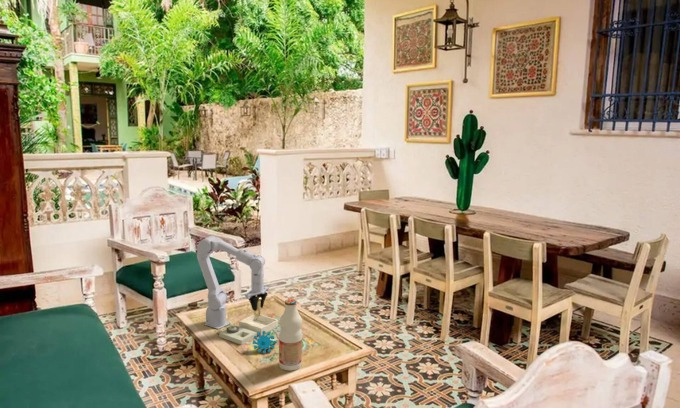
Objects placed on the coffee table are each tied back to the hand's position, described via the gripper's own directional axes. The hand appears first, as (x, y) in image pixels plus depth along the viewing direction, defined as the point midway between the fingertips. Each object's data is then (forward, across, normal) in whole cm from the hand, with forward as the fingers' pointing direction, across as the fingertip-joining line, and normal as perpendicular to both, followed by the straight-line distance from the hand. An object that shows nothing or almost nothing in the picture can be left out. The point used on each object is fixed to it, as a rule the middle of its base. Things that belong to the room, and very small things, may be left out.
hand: (257, 308), depth 224 cm
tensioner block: (+10, -12, +1) cm, 16 cm away
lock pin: (+3, -1, 0) cm, 3 cm away
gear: (+10, -15, -18) cm, 25 cm away
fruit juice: (+10, -19, -35) cm, 41 cm away
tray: (+10, +1, 0) cm, 10 cm away
